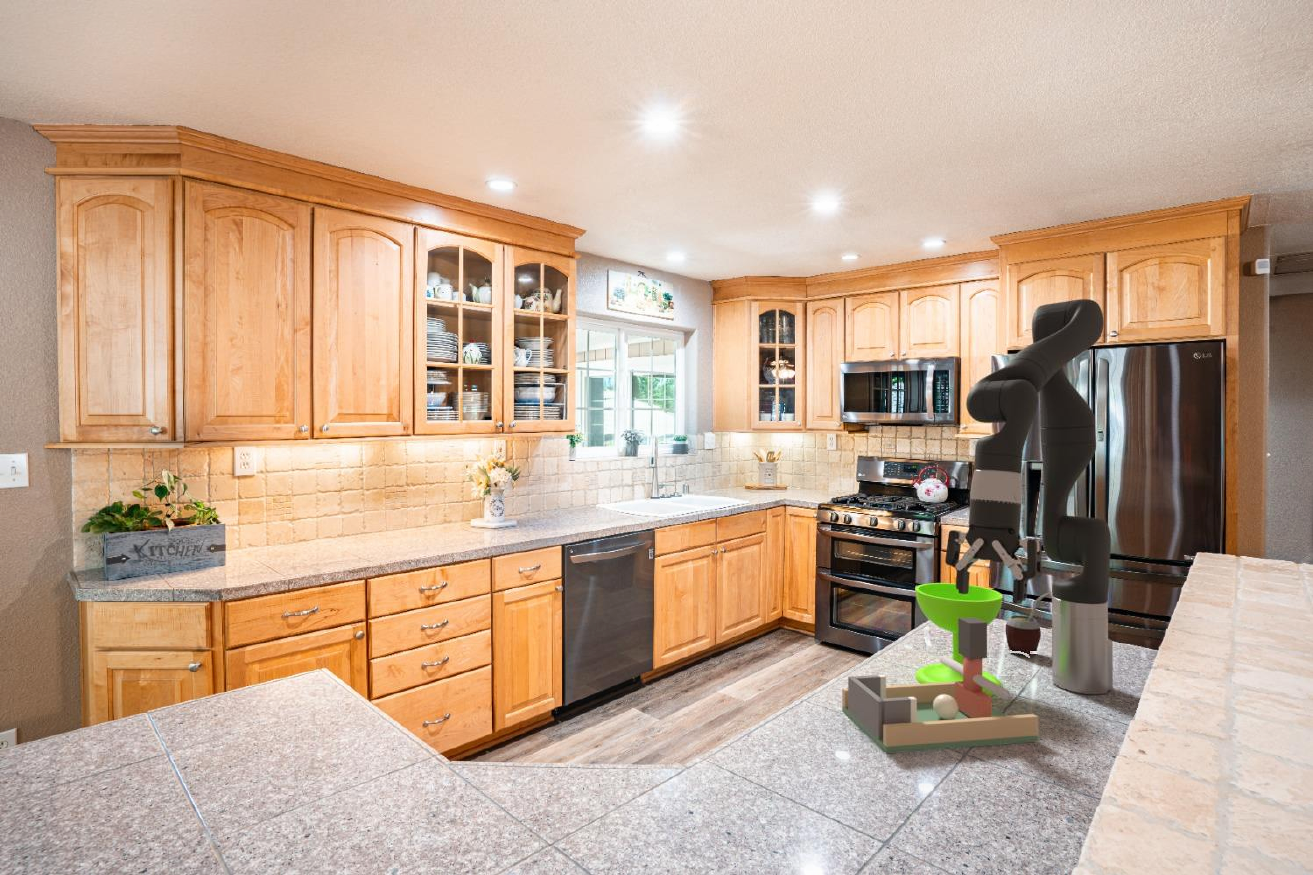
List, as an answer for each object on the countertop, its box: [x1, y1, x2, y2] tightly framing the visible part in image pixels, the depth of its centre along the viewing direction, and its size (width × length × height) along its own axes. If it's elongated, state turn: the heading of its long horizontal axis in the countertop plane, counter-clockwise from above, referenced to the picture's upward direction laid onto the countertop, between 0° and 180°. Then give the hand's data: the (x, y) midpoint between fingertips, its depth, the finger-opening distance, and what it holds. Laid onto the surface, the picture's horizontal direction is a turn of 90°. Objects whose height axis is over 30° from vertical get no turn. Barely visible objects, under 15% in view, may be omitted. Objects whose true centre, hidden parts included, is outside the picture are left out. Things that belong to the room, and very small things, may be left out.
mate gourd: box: [1004, 591, 1052, 654], centre depth 148 cm, size 8×8×15 cm
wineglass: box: [914, 582, 1004, 697], centre depth 132 cm, size 16×16×18 cm
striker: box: [939, 618, 1012, 718], centre depth 112 cm, size 3×17×16 cm, turn 8°
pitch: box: [841, 674, 1039, 754], centre depth 111 cm, size 26×16×7 cm, turn 98°
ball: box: [933, 694, 959, 720], centre depth 112 cm, size 4×4×4 cm
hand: (989, 598), depth 107 cm, fingers open, 8 cm apart
